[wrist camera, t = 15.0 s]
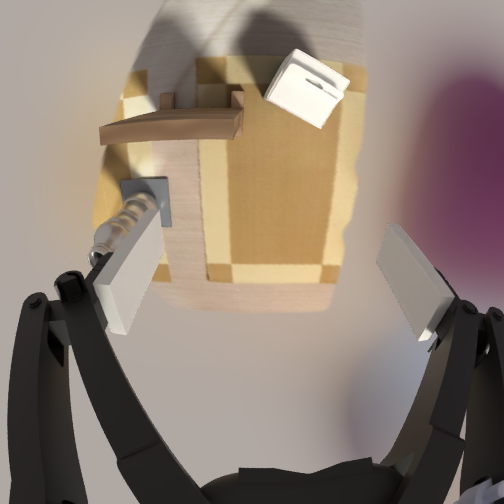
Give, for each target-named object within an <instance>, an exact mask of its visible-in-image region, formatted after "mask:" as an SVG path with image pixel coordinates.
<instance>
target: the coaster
mask: <svg viewBox="0 0 504 504" xmlns="http://www.w3.org/2000/svg"><path fill="white" fill-rule="evenodd" d="M120 186H121V193H122V200H123V205H124V203H125V201H126V200H127V198H128V197H129V196H130V195H132V194H134V193H136V192H146V193H148V194H150V195H151V196H153V197H154V199H155V200H156V202H157V205H158V210H160V218H161V227H172V222H171V211H170V199H169V185H168V178H157V179H124V180H120Z"/></svg>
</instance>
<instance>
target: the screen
mask: <svg viewBox="0 0 504 504" xmlns="http://www.w3.org/2000/svg"><path fill="white" fill-rule="evenodd" d="M243 111H244V91H232V93H231V108H184V109H174V93H163V94H160V111H155V112H151V113H147V114H143V115H139V116H135V117H132V118H128V119H125V120H121V121H118V122H114V123H111V124H108V125H105V126H102V127H99V132H100V144H101V145H109V144H119V143H129V142H142V141H159V140H186V139H228V140H233V139H234V137H242V133H243Z"/></svg>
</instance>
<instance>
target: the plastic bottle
mask: <svg viewBox="0 0 504 504" xmlns="http://www.w3.org/2000/svg"><path fill="white" fill-rule="evenodd" d="M147 209H157V210H158V205H157V202H156V200H155V199H154V197H153V196H151V195H150V194H148V193H146V192H136V193H134V194H132V195H130V196H129V197H128V198H127V200H126V201H125V203H124V205H123V207H122V208H121V209H120V210H119V212H118V213H116V214H115V215H114V216H113V217H112V218H110V219H109V220H107V221H106V222H104V223H103V224H102V225H100V226H99V227H98V228H97V230H96V233H95V235H94V246H93V248H92V249H91V251H90V253H89V254H88V261H89V264H90V265H91V266H92V267H94V266H95V265H96V263H97V262H98V260H99V259H100V258H101V257H102V256H103V255H105V254H106V253H108V252H115V251H116V249H117V248H118V247H119V245H120V244H121V242H122V241H123V240H124V238H125V237H126V236H127V234H128V233H129V232H130V231H131V229H132V228H133V227H134V225H135V224H136V223H137V221H138V220H139V219H140V218H141V216H142V215H143V214H144V213H145V211H146V210H147Z"/></svg>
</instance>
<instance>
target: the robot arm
mask: <svg viewBox="0 0 504 504" xmlns="http://www.w3.org/2000/svg"><path fill="white" fill-rule="evenodd" d="M164 252H165V251H164V243H163V235H162V227H161V218H160V210H157V209H147V210H146V211H145V213H144V214H143V215H142V216H141V218H140V219H139V220H138V221H137V223H136V224H135V225H134V227H133V228H132V229H131V231H130V232H129V233H128V234H127V236H126V237H125V238H124V240H123V241H122V242H121V244H120V245H119V247H118V248H117V249H116V251H115V252H108V253H106V254H105V255H103V256H102V257H101V258H100V259H99V260H98V262H97V263H96V265H95V266H94V267H93V269H92V271H90V273H89V274H88V276H87V277H86V278H85V280H84V277H83V275H82V274H81V272H79V271H68V272H65V273H63V274H61V275H60V276H59V277H58V278H57V279H56V281H55V282H54V287H55V290H56V292H57V294H58V296H59V299H60V300H54V301H49V300H48V298H47V296H46V295H45V294H44V293H42V292H38V293H34V294H32V295H30V296H29V297H28V298H27V299H26V300H25V301H24V303H23V306H22V310H21V314H20V318H19V323H18V328H17V332H16V338H15V344H14V349H13V356H12V363H11V371H10V380H9V392H8V417H7V426H8V450H9V463H10V472H11V480H12V481H11V489H10V499H9V504H88V500H87V495H86V490H85V485H84V482H83V478H82V473H81V469H80V464H79V459H78V454H77V449H76V443H75V437H74V430H73V422H72V413H71V402H70V389H69V366H68V365H69V363H68V362H69V361H68V360H69V359H68V350H69V349H68V348H69V347H68V346H69V345H72V349H73V352H74V356H75V359H76V362H77V365H78V368H79V371H80V374H81V377H82V380H83V383H84V385H85V388H86V391H87V394H88V396H89V398H90V401H91V403H92V406H93V408H94V411H95V413H96V416H97V418H98V420H99V422H100V425H101V427H102V429H103V431H104V433H105V435H106V437H107V439H108V441H109V443H110V445H111V447H112V449H113V451H114V453H115V455H116V457H117V466H118V469H119V471H120V472H121V474H122V476H123V478H124V479H125V481H126V483H127V485H128V486H129V488H130V489H131V491H132V492H133V494H134V496H135V497H136V499H137V500H138V502H139V503H140V504H443V503H444V500H445V498H446V496H447V494H448V491H449V489H450V487H451V484H452V482H453V479H454V477H455V474H456V471H457V468H458V466H459V463H460V460H461V457H462V454H463V451H464V456H463V463H462V470H461V479H460V498H459V500H458V501H456V502H454V504H504V314H503V313H502V311H501V310H500V309H497V308H495V307H490V308H489V310H488V311H487V313H486V314H482V313H479V312H478V310H477V308H476V307H475V306H474V305H473V304H472V303H471V302H469V301H467V300H460V298H459V297H458V295H457V294H456V292H455V291H454V290H453V288H452V287H451V285H449V283H448V281H447V280H445V277H444V276H443V275H442V273H441V272H440V271H438V270H437V269H436V268H435V267H433V266H432V265H431V263H430V262H429V261H428V259H427V258H426V257H425V256H424V255H423V253H422V252H421V251H420V249H419V248H418V247H417V246H416V245H415V244H414V242H413V241H412V240H411V239H410V237H409V236H408V235H407V234H406V233H405V232H404V230H403V229H402V228H401V227H400V226H399V225H398V224H391V223H388V224H387V228H386V231H385V234H384V238H383V241H382V245H381V248H380V251H379V254H378V257H377V260H376V263H377V264H378V266H379V268H380V270H381V271H382V273H383V275H384V277H385V279H386V280H387V282H388V284H389V286H390V288H391V289H392V291H393V293H394V295H395V297H396V299H397V301H398V303H399V304H400V306H401V308H402V310H403V312H404V314H405V316H406V318H407V320H408V322H409V324H410V326H411V328H412V330H413V333H414V335H415V336H416V339H417V341H422V340H429V339H430V338H431V336H432V335H433V333H434V331H436V333H437V335H438V337H437V338H436V340H435V341H434V343H433V344H432V346H431V347H430V348H429V350H428V352H430V351H431V350H432V352H431V355H430V358H429V361H428V364H427V367H426V370H425V373H424V376H423V379H422V381H421V384H420V387H419V389H418V392H417V395H416V397H415V400H414V402H413V405H412V407H411V409H410V412H409V414H408V416H407V418H406V421H405V423H404V425H403V427H402V429H401V431H400V433H399V435H398V437H397V439H396V441H395V443H394V445H393V447H392V449H391V451H390V452H389V454H388V455H387V456H386V457H385V458H384V459H383V460H382V462H381V463H380V464H376V463H372V458H371V457H368V458H363V459H358V460H352V461H346V462H342V463H339V464H336V465H334V466H331V467H328V468H326V469H323V470H320V471H317V472H314V473H311V474H305V473H298V472H292V471H286V470H281V469H276V468H239V472H238V473H234V474H229V475H225V476H222V477H220V478H217V479H215V480H213V481H211V482H209V483H207V484H206V485H204V486H203V487H201V488H200V487H198V485H197V484H196V483H195V481H194V480H193V479H192V478H191V476H190V475H189V474H188V473H187V471H186V470H185V469H184V468H183V466H182V465H181V464H180V463H179V461H178V460H177V458H176V457H175V456H174V454H173V453H172V452H171V450H170V449H169V447H168V446H167V444H166V443H165V441H164V440H163V438H162V437H161V435H160V434H159V432H158V431H157V429H156V428H155V426H154V424H153V423H152V421H151V420H150V418H149V417H148V415H147V413H146V411H145V410H144V408H143V406H142V405H141V403H140V401H139V399H138V398H137V396H136V394H135V392H134V390H133V389H132V387H131V385H130V383H129V381H128V379H127V377H126V376H125V373H124V371H123V369H122V367H121V366H120V363H119V361H118V359H117V357H116V356H115V353H114V351H113V348H112V346H111V344H110V342H109V339H108V337H107V335H106V333H105V329H106V327H107V324H108V325H109V327H110V330H111V332H112V333H117V334H123V335H127V333H128V331H129V328H130V326H131V324H132V322H133V319H134V317H135V315H136V312H137V310H138V308H139V305H140V303H141V301H142V298H143V296H144V294H145V292H146V290H147V287H148V285H149V283H150V281H151V279H152V277H153V275H154V272H155V270H156V268H157V266H158V264H159V262H160V260H161V258H162V256H163V254H164ZM488 348H489V352H488V354H486V350H487V349H488ZM466 409H467V414H466V434H465V440H464V439H461V438H460V432H461V428H462V424H463V421H464V417H465V413H466Z"/></svg>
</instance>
